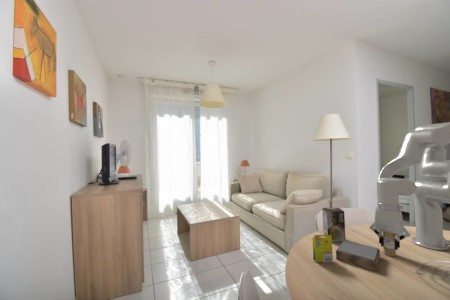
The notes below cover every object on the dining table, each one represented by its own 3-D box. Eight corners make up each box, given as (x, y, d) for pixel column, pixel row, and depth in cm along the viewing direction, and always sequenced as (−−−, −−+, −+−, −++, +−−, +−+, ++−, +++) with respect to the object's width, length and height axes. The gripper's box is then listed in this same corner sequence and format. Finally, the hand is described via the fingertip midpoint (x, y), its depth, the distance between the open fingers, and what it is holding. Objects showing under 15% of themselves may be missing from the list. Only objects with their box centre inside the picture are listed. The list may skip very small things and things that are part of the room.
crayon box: (330, 259, 86) (329, 232, 86) (333, 262, 83) (332, 235, 83) (312, 258, 87) (312, 232, 87) (315, 262, 84) (314, 235, 84)
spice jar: (383, 254, 89) (382, 224, 89) (383, 250, 92) (382, 221, 92) (396, 257, 86) (395, 227, 86) (396, 253, 89) (395, 224, 90)
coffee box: (340, 236, 108) (339, 207, 108) (346, 242, 102) (345, 210, 102) (322, 236, 109) (321, 207, 109) (327, 241, 103) (326, 210, 103)
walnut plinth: (380, 257, 87) (379, 248, 87) (376, 271, 76) (376, 261, 76) (343, 247, 96) (343, 239, 96) (336, 259, 86) (336, 250, 86)
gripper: (413, 208, 86) (414, 249, 86) (366, 202, 98) (367, 239, 98) (413, 212, 81) (415, 256, 81) (364, 205, 92) (365, 244, 92)
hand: (389, 246), depth 89 cm, fingers closed on spice jar, 4 cm apart
